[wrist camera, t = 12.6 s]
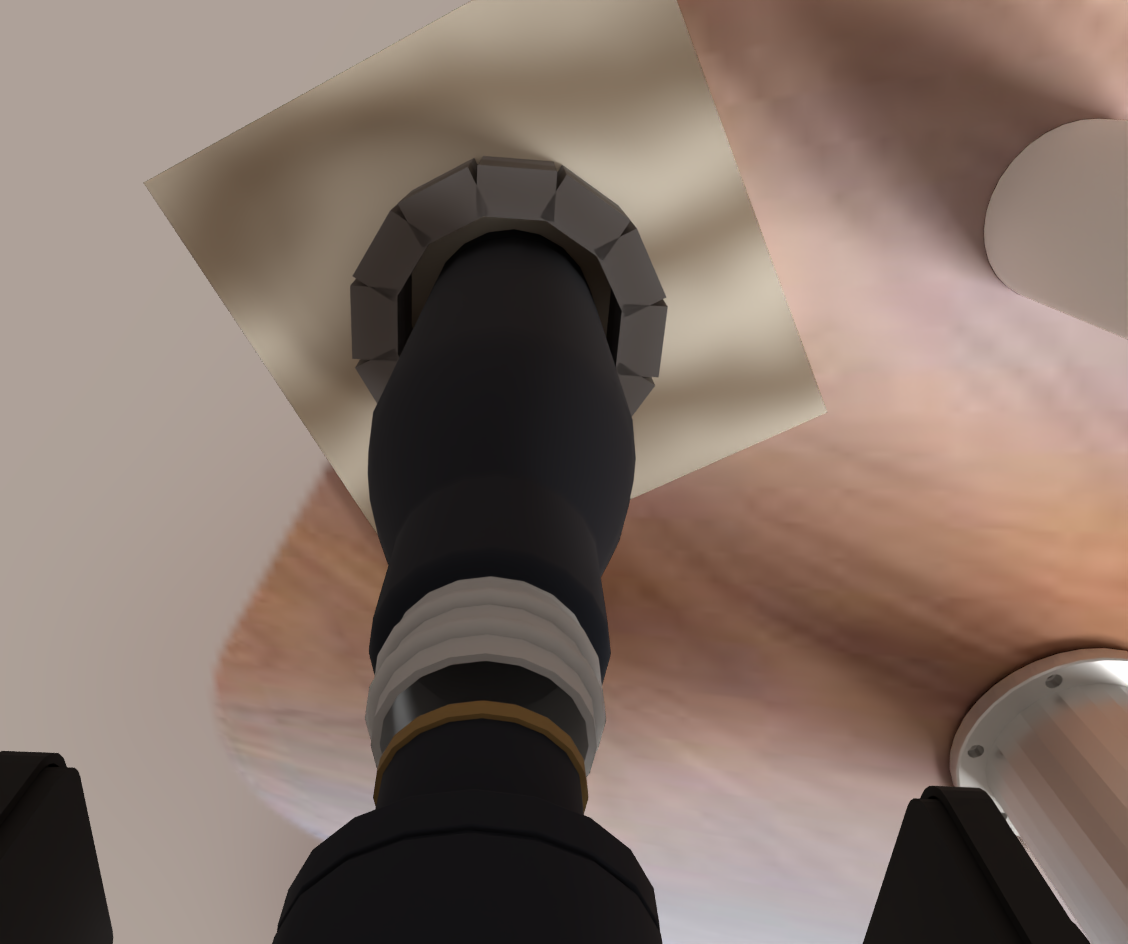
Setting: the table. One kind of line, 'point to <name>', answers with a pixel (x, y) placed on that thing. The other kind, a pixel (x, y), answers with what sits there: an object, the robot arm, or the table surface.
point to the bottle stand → (504, 222)
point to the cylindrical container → (1066, 223)
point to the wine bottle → (489, 626)
